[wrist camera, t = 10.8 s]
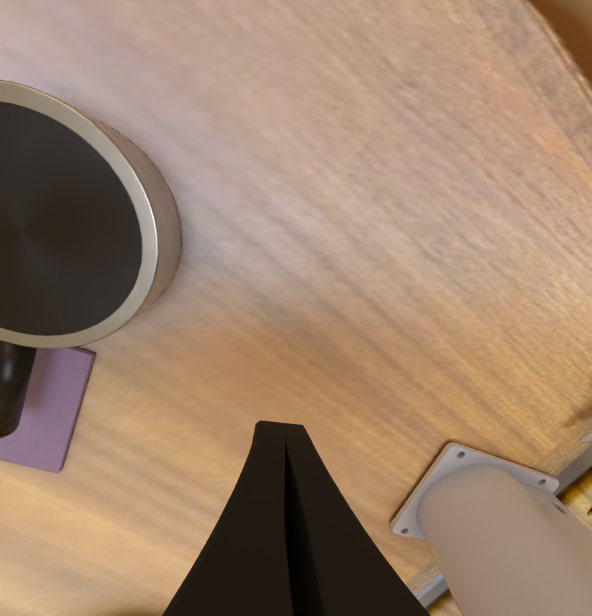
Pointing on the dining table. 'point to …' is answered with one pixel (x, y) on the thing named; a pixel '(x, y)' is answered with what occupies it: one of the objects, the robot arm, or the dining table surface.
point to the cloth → (49, 409)
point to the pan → (72, 234)
